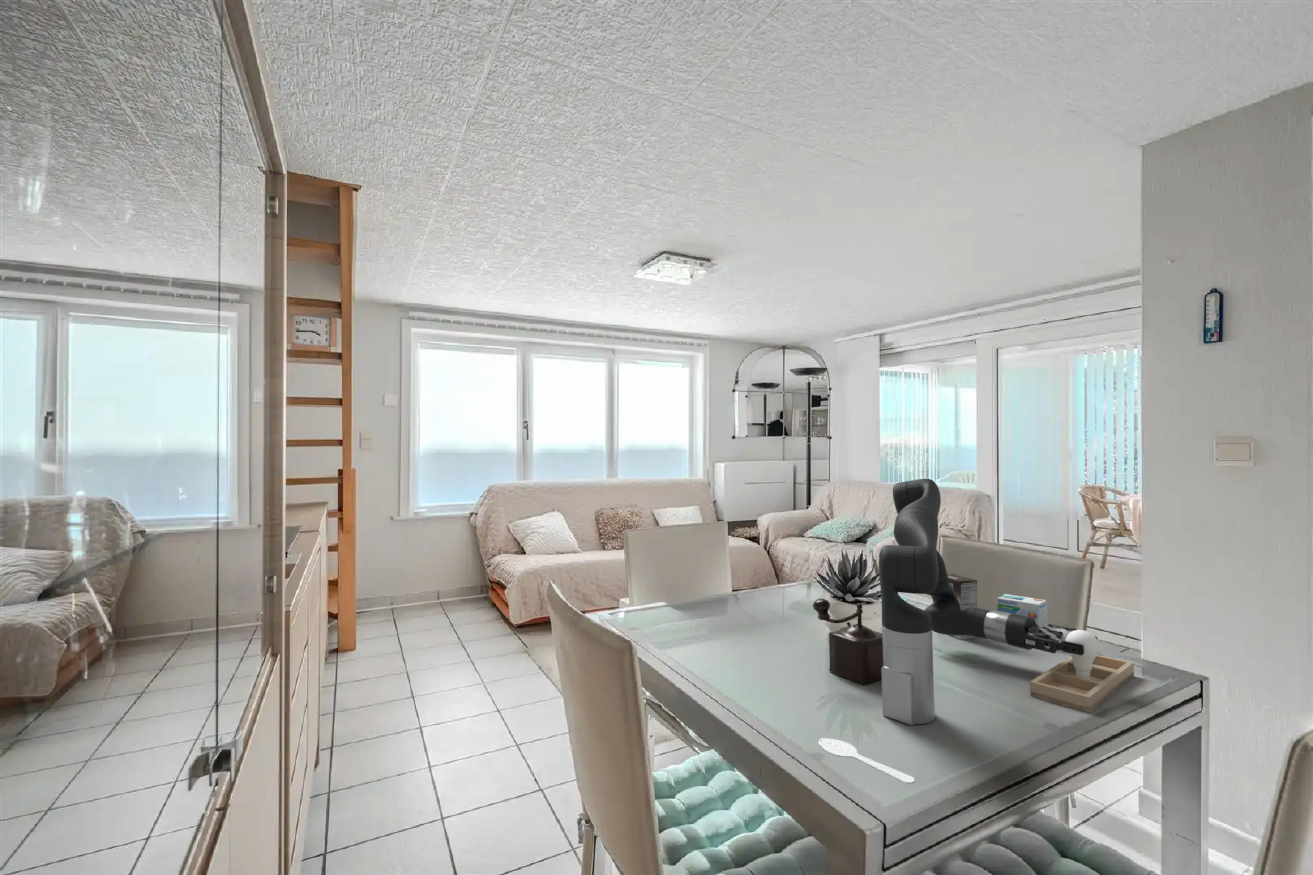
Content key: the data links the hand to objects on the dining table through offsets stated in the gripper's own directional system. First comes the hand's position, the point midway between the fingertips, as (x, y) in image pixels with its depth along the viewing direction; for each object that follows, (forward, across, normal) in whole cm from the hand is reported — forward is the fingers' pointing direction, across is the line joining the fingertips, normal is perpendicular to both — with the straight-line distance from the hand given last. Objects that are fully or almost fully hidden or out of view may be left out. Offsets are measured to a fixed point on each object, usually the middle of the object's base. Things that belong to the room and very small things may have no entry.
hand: (1090, 645), depth 129 cm
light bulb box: (-24, +26, +9) cm, 36 cm away
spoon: (-14, -64, +10) cm, 66 cm away
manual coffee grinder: (-37, -33, +9) cm, 51 cm away
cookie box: (-36, +16, +9) cm, 41 cm away
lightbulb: (-2, 0, +8) cm, 8 cm away
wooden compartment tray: (-2, 0, +9) cm, 9 cm away
